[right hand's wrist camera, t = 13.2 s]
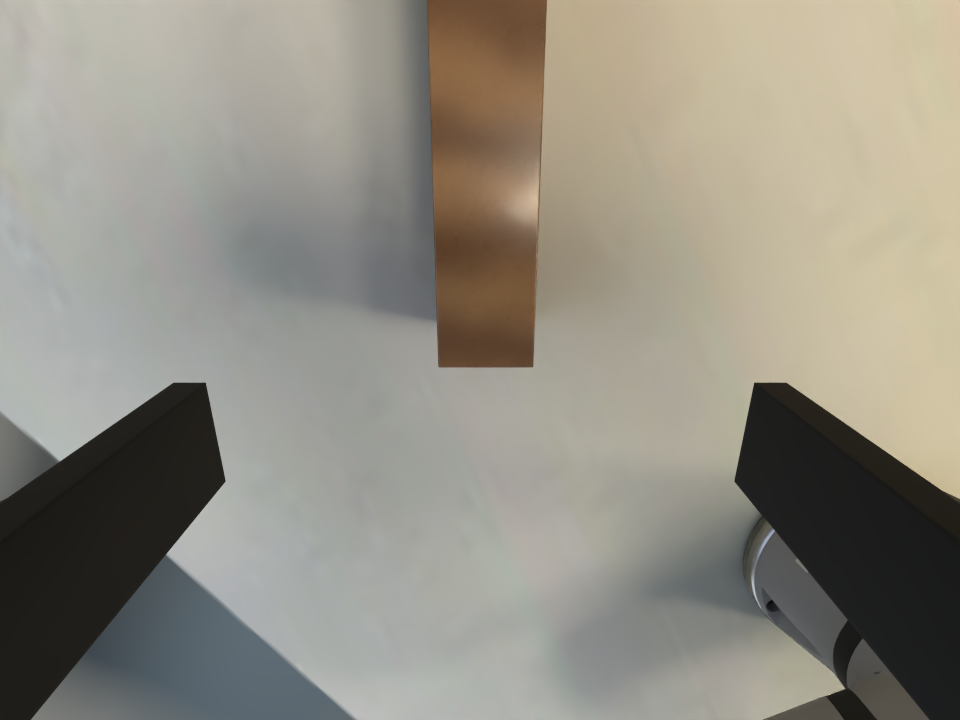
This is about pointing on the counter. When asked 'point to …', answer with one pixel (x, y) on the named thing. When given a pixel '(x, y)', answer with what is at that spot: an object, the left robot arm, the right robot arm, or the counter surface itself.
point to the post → (486, 176)
